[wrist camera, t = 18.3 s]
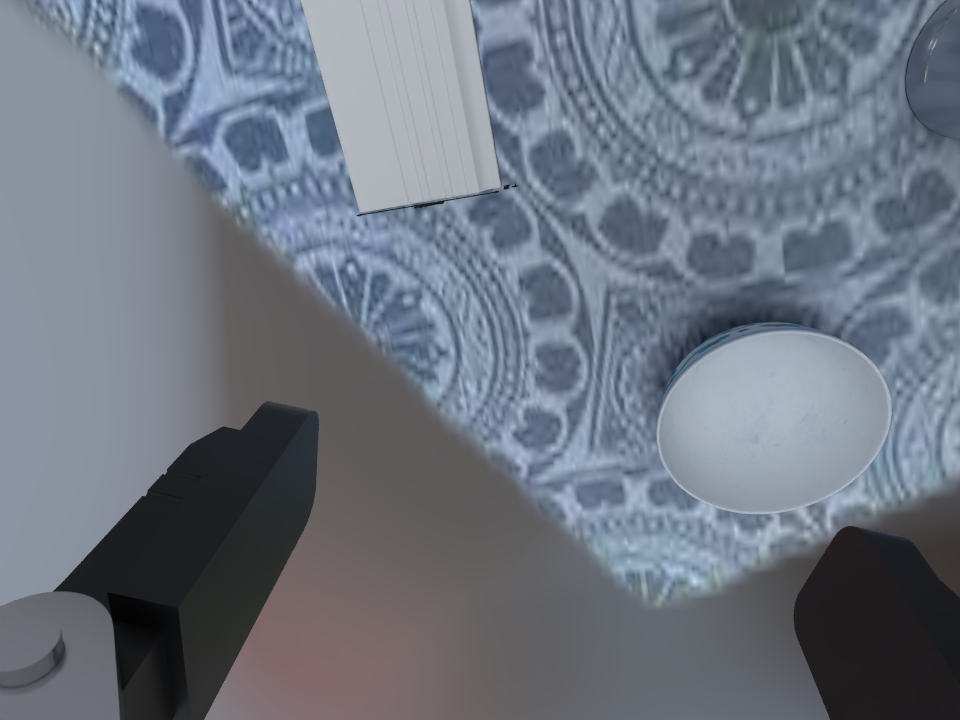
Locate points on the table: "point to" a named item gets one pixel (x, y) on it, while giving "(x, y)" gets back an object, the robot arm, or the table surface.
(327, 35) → the baseboard molding
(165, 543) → the robot arm
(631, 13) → the table surface
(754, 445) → the chinaware
